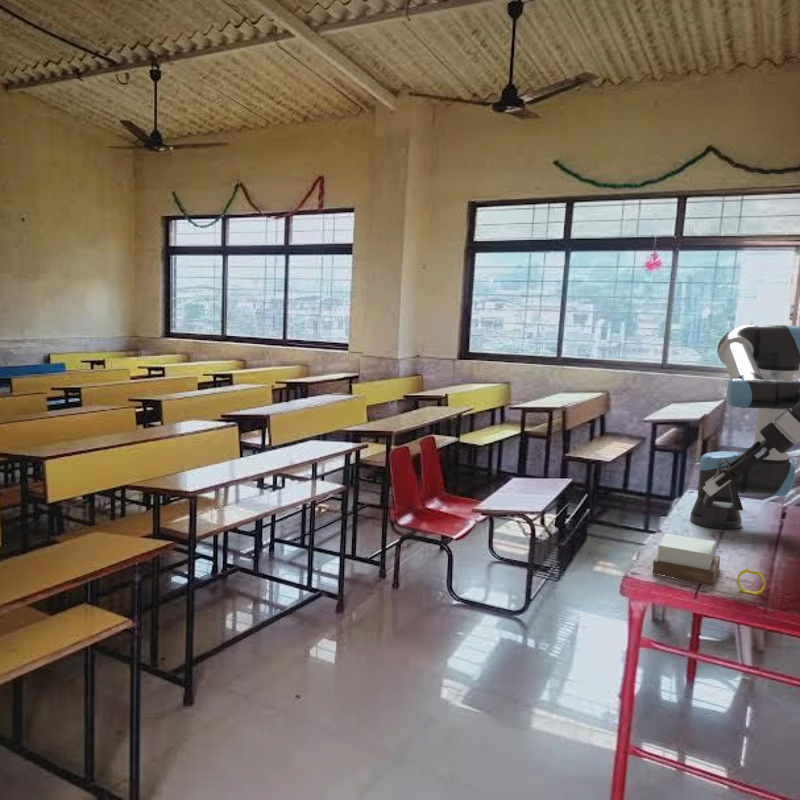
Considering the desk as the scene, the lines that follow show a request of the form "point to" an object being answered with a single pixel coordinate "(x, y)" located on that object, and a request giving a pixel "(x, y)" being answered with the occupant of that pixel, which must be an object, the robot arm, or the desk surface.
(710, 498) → the phone stand
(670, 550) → the upper block
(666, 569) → the lower block
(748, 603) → the desk surface
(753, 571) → the watch
